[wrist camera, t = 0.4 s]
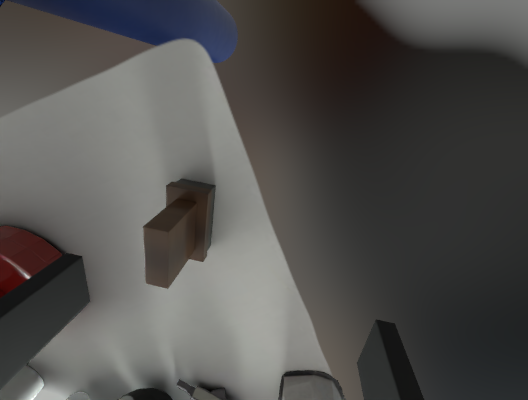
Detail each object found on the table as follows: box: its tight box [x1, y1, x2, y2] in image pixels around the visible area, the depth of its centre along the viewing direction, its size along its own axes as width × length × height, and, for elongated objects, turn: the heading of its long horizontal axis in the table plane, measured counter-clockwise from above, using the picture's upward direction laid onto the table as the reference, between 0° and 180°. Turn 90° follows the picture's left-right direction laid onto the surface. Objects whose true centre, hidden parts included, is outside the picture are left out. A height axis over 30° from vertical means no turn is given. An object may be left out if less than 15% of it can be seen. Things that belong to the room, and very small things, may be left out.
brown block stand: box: [143, 179, 216, 289], centre depth 26 cm, size 8×4×9 cm, turn 171°
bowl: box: [0, 226, 63, 298], centre depth 36 cm, size 17×17×5 cm
